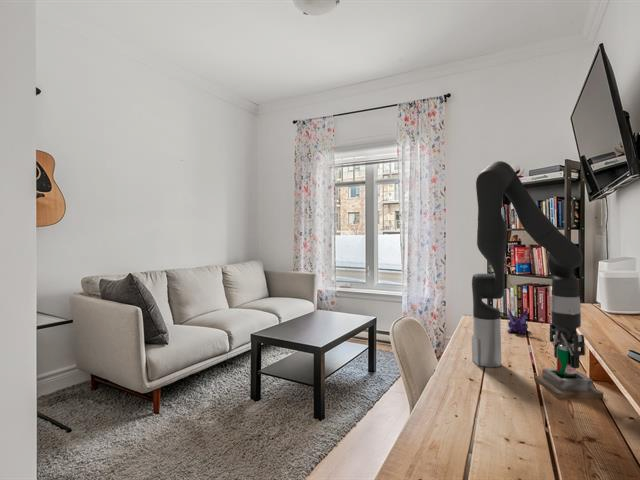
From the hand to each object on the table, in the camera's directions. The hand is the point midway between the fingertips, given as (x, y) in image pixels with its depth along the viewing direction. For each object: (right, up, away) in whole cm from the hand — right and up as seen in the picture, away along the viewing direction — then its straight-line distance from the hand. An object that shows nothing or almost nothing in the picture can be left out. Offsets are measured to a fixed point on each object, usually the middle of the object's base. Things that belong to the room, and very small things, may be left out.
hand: (566, 362), depth 115 cm
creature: (+18, -7, +63) cm, 66 cm away
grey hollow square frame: (0, -8, 0) cm, 8 cm away
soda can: (0, -7, 0) cm, 7 cm away
